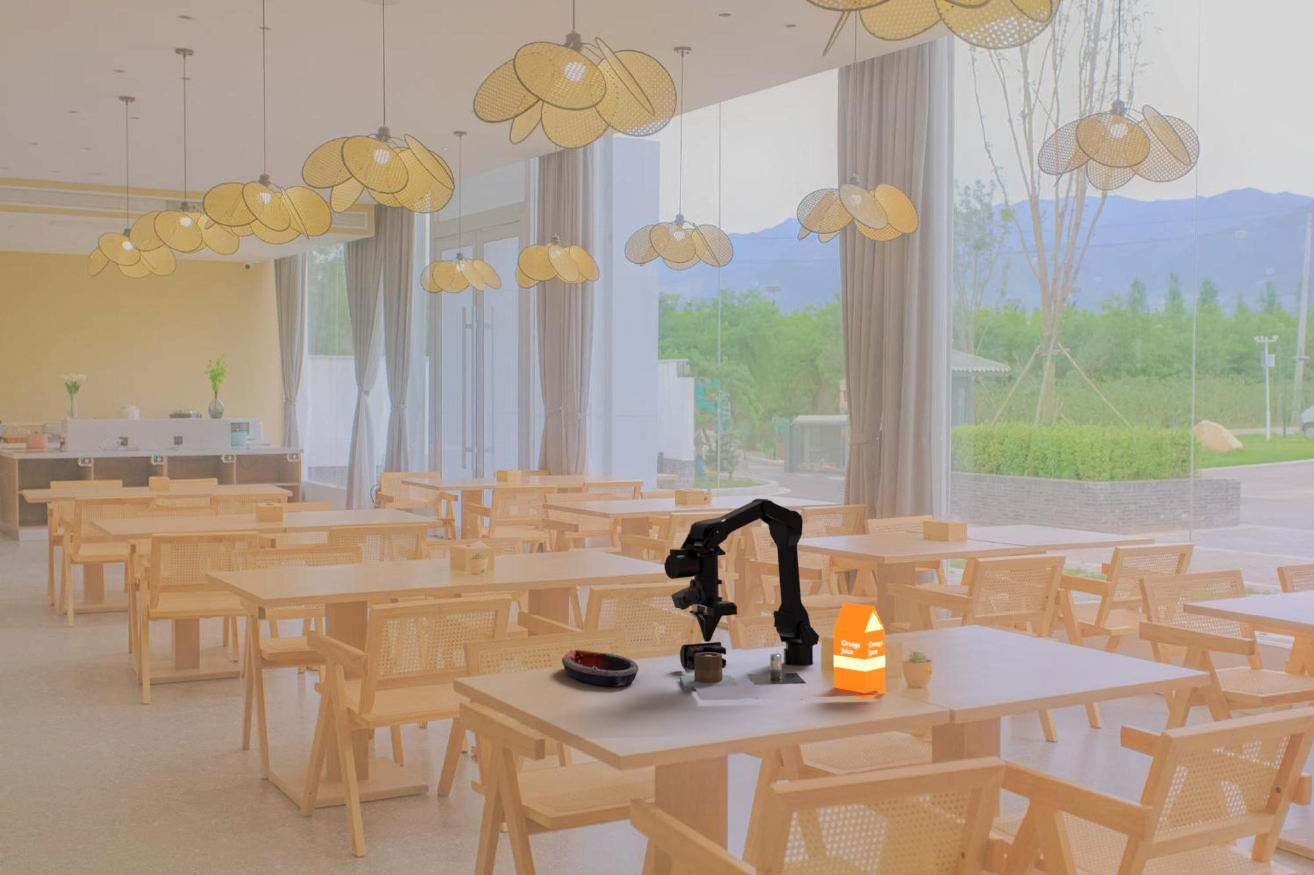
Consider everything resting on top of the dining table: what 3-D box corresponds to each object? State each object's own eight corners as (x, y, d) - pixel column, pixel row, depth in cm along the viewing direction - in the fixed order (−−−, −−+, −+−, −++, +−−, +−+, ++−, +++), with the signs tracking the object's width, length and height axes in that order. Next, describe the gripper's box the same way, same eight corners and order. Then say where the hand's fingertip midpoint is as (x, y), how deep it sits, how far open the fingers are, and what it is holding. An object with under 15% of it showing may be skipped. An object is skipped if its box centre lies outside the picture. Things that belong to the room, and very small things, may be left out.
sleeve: (713, 676, 295) (713, 648, 295) (726, 681, 290) (725, 652, 290) (690, 679, 293) (690, 651, 293) (703, 683, 287) (703, 655, 287)
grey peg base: (730, 679, 298) (730, 650, 298) (737, 690, 286) (737, 659, 286) (680, 680, 297) (680, 651, 297) (685, 691, 285) (684, 660, 285)
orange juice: (854, 687, 288) (853, 600, 287) (885, 693, 281) (885, 604, 281) (833, 692, 282) (832, 604, 282) (865, 698, 276) (864, 608, 276)
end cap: (716, 666, 314) (716, 640, 314) (728, 671, 308) (727, 644, 308) (679, 670, 311) (679, 642, 311) (690, 675, 304) (690, 647, 304)
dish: (591, 693, 285) (591, 671, 285) (548, 669, 313) (548, 649, 313) (654, 687, 291) (653, 665, 291) (605, 664, 320) (605, 645, 319)
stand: (796, 678, 299) (796, 649, 299) (806, 688, 287) (806, 658, 287) (746, 679, 298) (746, 650, 298) (754, 689, 286) (754, 660, 286)
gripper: (657, 573, 298) (658, 638, 298) (695, 582, 281) (696, 651, 282) (698, 570, 303) (699, 634, 303) (737, 578, 286) (738, 646, 287)
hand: (707, 641), depth 294 cm, fingers closed
